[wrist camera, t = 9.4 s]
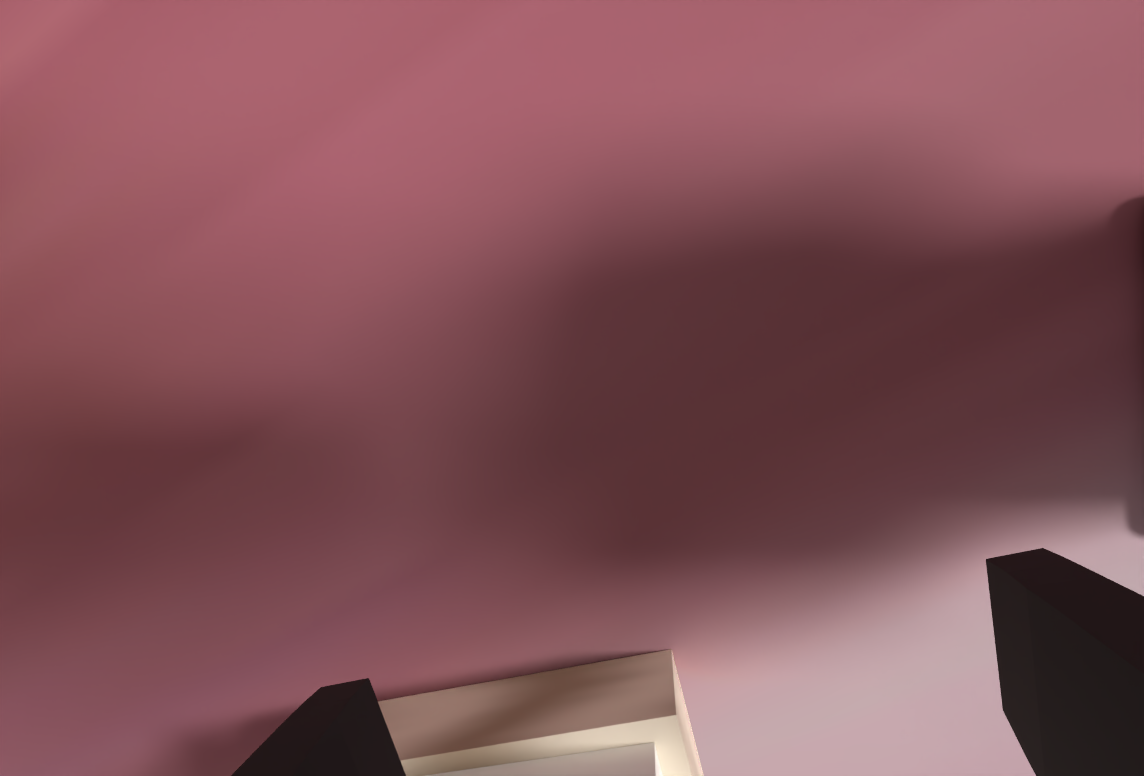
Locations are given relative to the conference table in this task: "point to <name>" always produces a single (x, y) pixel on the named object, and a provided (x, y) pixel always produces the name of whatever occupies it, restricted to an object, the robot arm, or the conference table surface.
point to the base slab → (547, 718)
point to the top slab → (579, 764)
